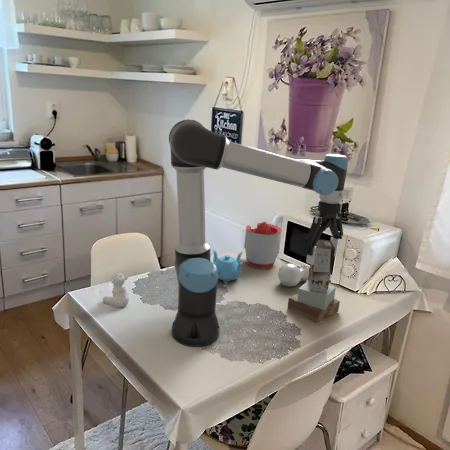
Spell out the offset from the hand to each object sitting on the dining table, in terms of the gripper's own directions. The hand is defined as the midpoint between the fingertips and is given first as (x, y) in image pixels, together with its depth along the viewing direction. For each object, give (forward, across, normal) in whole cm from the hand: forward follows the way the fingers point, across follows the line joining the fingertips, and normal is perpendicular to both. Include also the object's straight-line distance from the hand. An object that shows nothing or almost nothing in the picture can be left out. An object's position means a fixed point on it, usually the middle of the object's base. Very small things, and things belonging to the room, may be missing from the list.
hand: (321, 259), depth 150 cm
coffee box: (+10, -1, 0) cm, 10 cm away
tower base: (+20, -2, -1) cm, 20 cm away
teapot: (+20, -9, +38) cm, 44 cm away
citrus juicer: (+20, +15, +41) cm, 48 cm away
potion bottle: (+20, +11, +18) cm, 29 cm away
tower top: (+15, -2, -1) cm, 15 cm away
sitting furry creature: (+20, -54, +45) cm, 73 cm away
